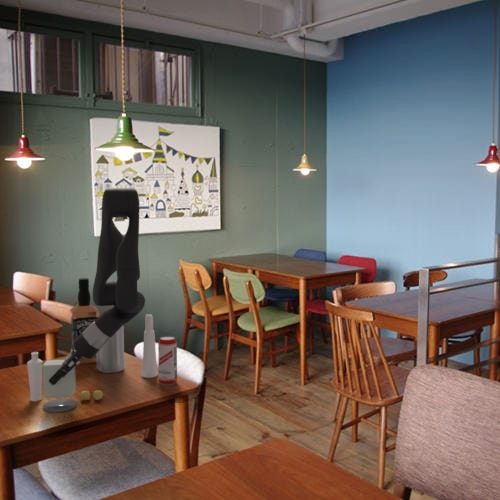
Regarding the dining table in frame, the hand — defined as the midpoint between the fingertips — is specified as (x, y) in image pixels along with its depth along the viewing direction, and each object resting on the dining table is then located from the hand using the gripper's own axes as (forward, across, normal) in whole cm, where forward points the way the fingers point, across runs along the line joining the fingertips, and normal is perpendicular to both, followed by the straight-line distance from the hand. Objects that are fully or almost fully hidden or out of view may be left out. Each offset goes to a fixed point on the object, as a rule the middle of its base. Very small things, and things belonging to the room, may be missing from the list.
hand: (53, 379), depth 172 cm
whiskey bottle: (+4, -48, +8) cm, 49 cm away
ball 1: (0, -5, +12) cm, 13 cm away
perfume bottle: (+11, -7, +1) cm, 13 cm away
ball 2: (-3, -5, +15) cm, 16 cm away
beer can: (-18, -17, +30) cm, 39 cm away
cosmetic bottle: (-13, -27, +26) cm, 39 cm away
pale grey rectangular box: (+2, 0, +5) cm, 5 cm away
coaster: (+5, 0, +7) cm, 9 cm away
